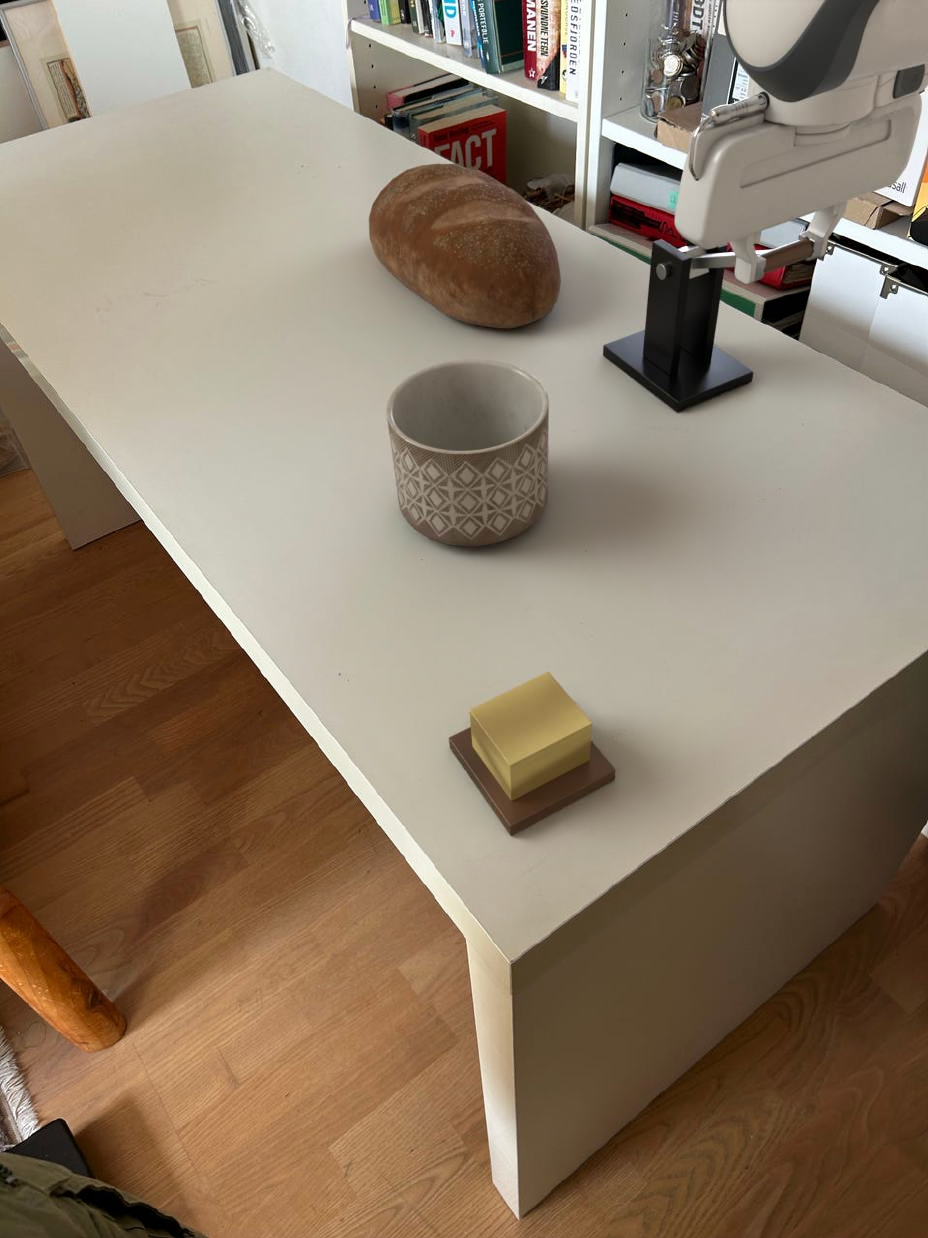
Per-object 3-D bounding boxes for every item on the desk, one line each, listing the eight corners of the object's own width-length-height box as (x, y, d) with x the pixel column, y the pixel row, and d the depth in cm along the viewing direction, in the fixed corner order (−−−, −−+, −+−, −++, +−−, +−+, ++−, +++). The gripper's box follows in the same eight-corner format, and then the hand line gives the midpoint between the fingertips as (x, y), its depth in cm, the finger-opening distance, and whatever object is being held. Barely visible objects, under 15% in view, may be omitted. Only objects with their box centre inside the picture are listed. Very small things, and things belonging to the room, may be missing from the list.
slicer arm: (814, 262, 77) (811, 231, 76) (766, 281, 76) (762, 249, 75) (702, 268, 89) (697, 241, 88) (658, 284, 88) (653, 257, 87)
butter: (615, 780, 63) (620, 732, 59) (510, 836, 61) (508, 791, 57) (548, 698, 68) (549, 650, 64) (449, 747, 66) (443, 700, 62)
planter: (440, 447, 88) (431, 346, 81) (569, 479, 84) (572, 376, 77) (373, 533, 81) (356, 431, 73) (512, 572, 77) (508, 469, 69)
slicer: (752, 382, 93) (775, 254, 83) (677, 413, 90) (692, 284, 81) (674, 328, 100) (687, 205, 91) (602, 355, 97) (608, 232, 88)
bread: (472, 356, 99) (466, 249, 90) (342, 250, 116) (327, 153, 108) (594, 307, 104) (599, 202, 95) (452, 213, 121) (446, 117, 113)
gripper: (726, 127, 62) (702, 322, 72) (952, 57, 68) (902, 246, 78) (665, 101, 66) (650, 289, 76) (884, 37, 72) (844, 219, 82)
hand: (779, 267), depth 77 cm, fingers closed on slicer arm, 5 cm apart
